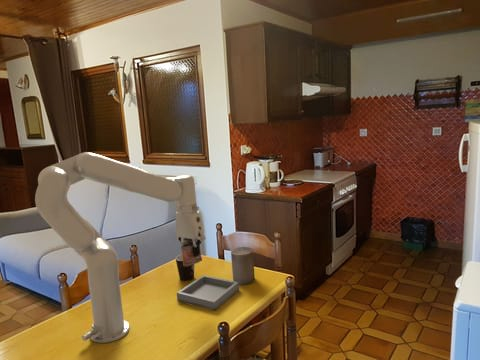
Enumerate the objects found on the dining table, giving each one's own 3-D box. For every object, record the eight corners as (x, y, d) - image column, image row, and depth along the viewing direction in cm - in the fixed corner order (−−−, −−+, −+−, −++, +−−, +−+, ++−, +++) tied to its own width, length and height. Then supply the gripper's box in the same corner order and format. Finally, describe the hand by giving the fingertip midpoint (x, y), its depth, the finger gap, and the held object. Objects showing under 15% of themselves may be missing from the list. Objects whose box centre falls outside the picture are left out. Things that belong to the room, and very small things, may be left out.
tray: (214, 310, 134) (214, 302, 134) (177, 301, 144) (176, 292, 143) (239, 290, 150) (238, 282, 149) (203, 282, 159) (203, 274, 158)
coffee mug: (186, 272, 170) (185, 252, 168) (200, 276, 165) (198, 255, 163) (168, 282, 161) (166, 261, 159) (182, 286, 156) (180, 264, 154)
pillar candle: (256, 275, 163) (253, 243, 160) (253, 285, 153) (251, 251, 151) (234, 275, 164) (232, 244, 162) (231, 285, 155) (228, 251, 152)
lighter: (186, 267, 135) (183, 241, 133) (181, 264, 137) (178, 239, 135) (203, 260, 140) (201, 235, 138) (198, 258, 142) (196, 234, 140)
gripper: (211, 207, 133) (215, 254, 137) (176, 204, 142) (181, 248, 145) (198, 212, 127) (203, 261, 130) (163, 209, 136) (168, 255, 139)
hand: (191, 254), depth 138 cm, fingers closed on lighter, 4 cm apart
